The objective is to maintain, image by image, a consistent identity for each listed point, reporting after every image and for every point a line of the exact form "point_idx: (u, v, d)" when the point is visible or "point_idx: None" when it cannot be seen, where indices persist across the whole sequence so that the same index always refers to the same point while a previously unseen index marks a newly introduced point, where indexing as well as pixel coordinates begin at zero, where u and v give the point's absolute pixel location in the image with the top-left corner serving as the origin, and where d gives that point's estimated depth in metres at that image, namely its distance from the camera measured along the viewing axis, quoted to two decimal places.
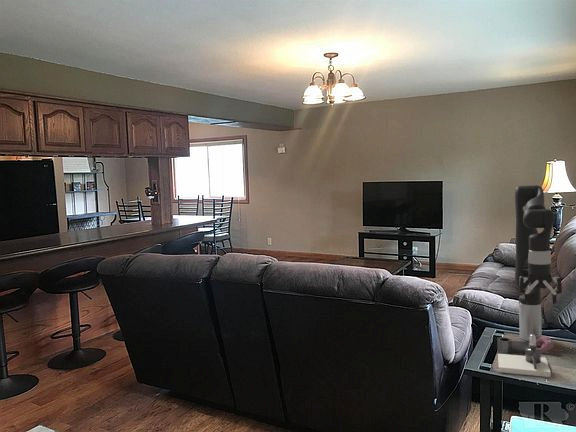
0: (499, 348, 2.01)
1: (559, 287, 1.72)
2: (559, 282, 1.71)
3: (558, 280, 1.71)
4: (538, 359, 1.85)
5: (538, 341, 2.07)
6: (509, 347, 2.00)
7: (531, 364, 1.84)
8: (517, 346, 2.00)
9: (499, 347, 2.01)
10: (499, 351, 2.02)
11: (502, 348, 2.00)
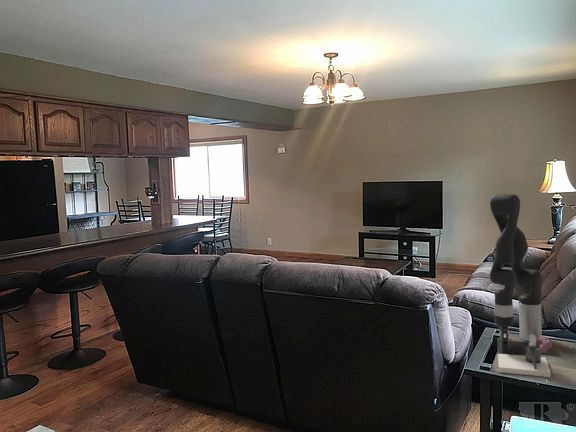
0: (499, 348, 2.01)
1: None
2: None
3: None
4: (538, 359, 1.85)
5: (536, 341, 2.07)
6: (509, 347, 2.00)
7: (531, 364, 1.84)
8: (517, 346, 2.00)
9: (499, 347, 2.01)
10: (499, 351, 2.02)
11: None
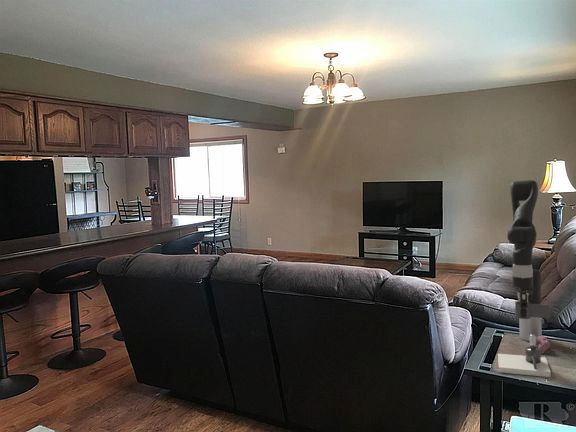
0: (517, 312, 1.89)
1: None
2: None
3: None
4: (538, 359, 1.85)
5: None
6: (528, 310, 1.87)
7: (531, 364, 1.84)
8: (536, 309, 1.87)
9: (517, 310, 1.89)
10: (517, 315, 1.89)
11: None
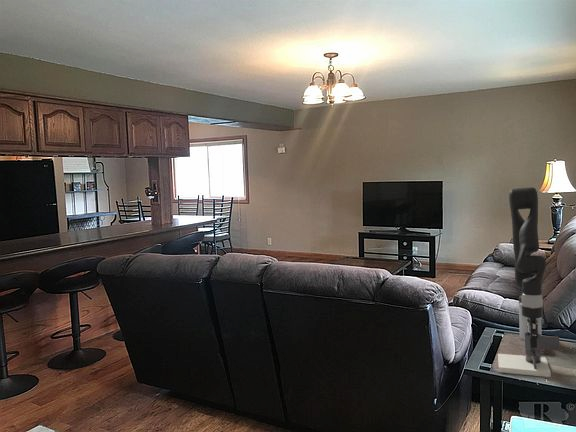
0: (527, 344, 1.86)
1: None
2: None
3: None
4: (538, 359, 1.85)
5: None
6: (538, 343, 1.84)
7: (531, 364, 1.84)
8: (546, 341, 1.85)
9: (527, 343, 1.86)
10: (527, 347, 1.86)
11: (530, 344, 1.85)
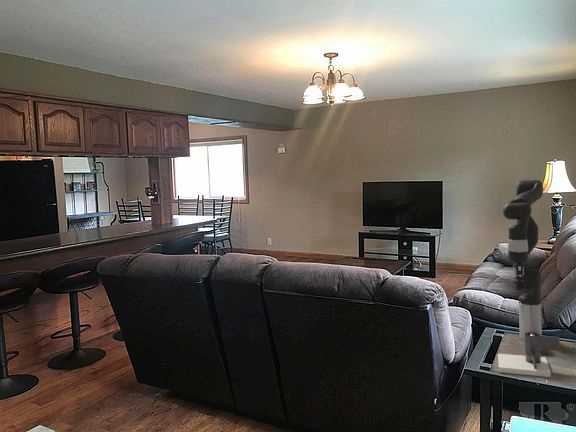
0: (527, 344, 1.86)
1: None
2: None
3: None
4: (538, 359, 1.85)
5: None
6: (538, 343, 1.84)
7: (531, 364, 1.84)
8: (546, 341, 1.85)
9: (527, 343, 1.86)
10: (527, 347, 1.86)
11: (530, 344, 1.85)
